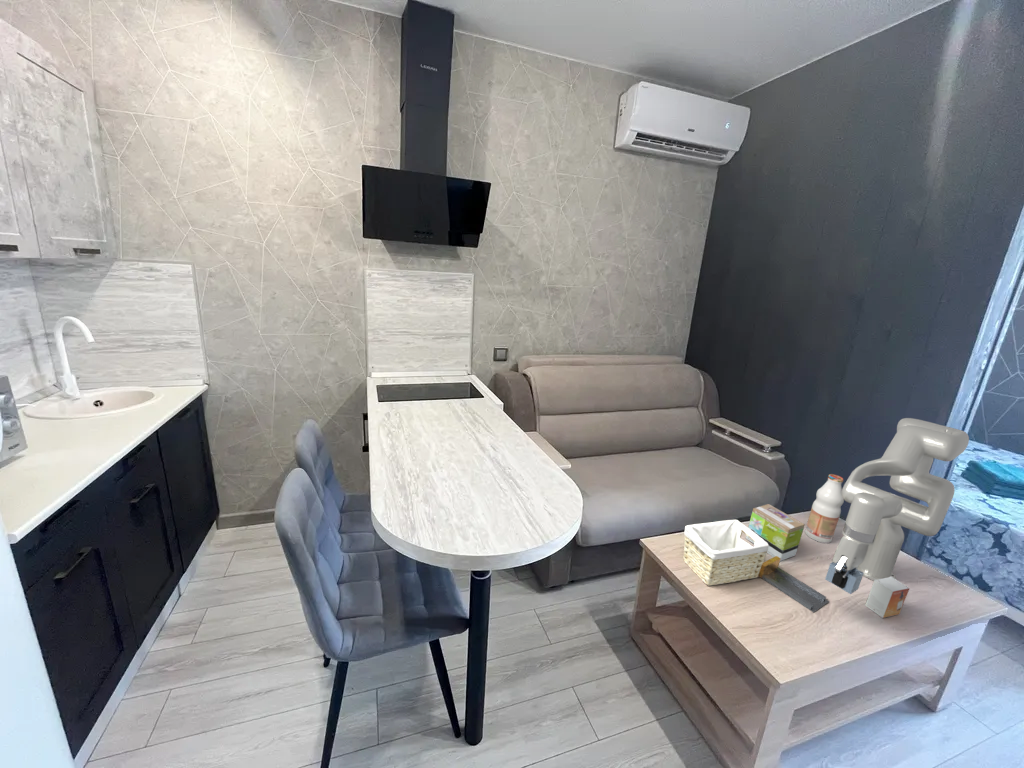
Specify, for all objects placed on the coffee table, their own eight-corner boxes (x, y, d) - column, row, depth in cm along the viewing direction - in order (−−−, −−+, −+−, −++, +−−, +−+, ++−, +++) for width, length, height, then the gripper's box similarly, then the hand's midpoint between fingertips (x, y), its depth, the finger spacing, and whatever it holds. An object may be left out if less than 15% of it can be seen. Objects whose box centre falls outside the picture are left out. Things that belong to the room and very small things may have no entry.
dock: (773, 567, 156) (776, 555, 154) (828, 602, 141) (832, 589, 139) (757, 575, 151) (760, 563, 150) (813, 612, 136) (817, 599, 134)
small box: (882, 618, 135) (892, 591, 132) (864, 605, 140) (873, 579, 137) (900, 614, 137) (910, 588, 134) (881, 601, 142) (891, 575, 139)
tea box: (744, 538, 172) (752, 507, 168) (760, 533, 176) (768, 502, 172) (779, 562, 159) (789, 528, 155) (796, 556, 163) (806, 523, 159)
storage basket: (705, 589, 143) (713, 552, 139) (676, 557, 158) (683, 523, 154) (762, 580, 149) (772, 545, 145) (729, 550, 164) (737, 517, 160)
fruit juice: (800, 533, 178) (817, 474, 170) (810, 527, 183) (828, 469, 175) (825, 546, 170) (844, 484, 163) (835, 539, 175) (855, 479, 168)
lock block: (832, 574, 136) (837, 559, 135) (858, 589, 131) (863, 572, 129) (825, 579, 134) (830, 563, 132) (850, 594, 128) (856, 577, 127)
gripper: (857, 519, 135) (841, 567, 139) (831, 532, 126) (815, 583, 131) (886, 532, 128) (868, 582, 133) (860, 547, 120) (842, 599, 125)
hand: (842, 582), depth 132 cm, fingers closed on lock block, 5 cm apart
